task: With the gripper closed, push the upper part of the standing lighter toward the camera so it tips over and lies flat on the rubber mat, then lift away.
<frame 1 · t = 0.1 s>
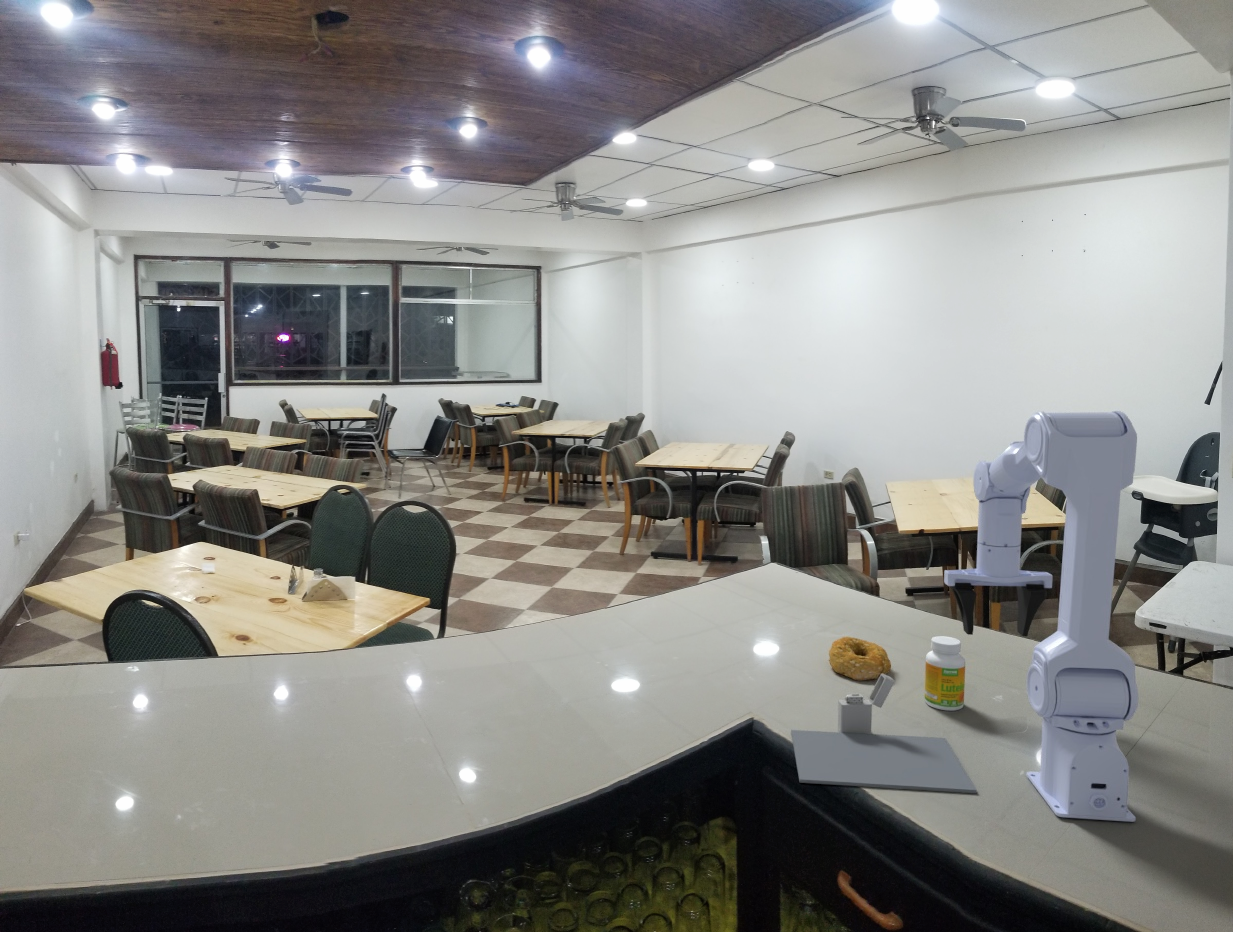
hand: (995, 633, 116), 10 cm above the bar counter, fingers open, 7 cm apart
bagel: (859, 671, 130), on the bar counter
supplement bottle: (943, 705, 116), on the bar counter
lighter: (865, 733, 107), on the bar counter
mat: (876, 760, 99), on the bar counter
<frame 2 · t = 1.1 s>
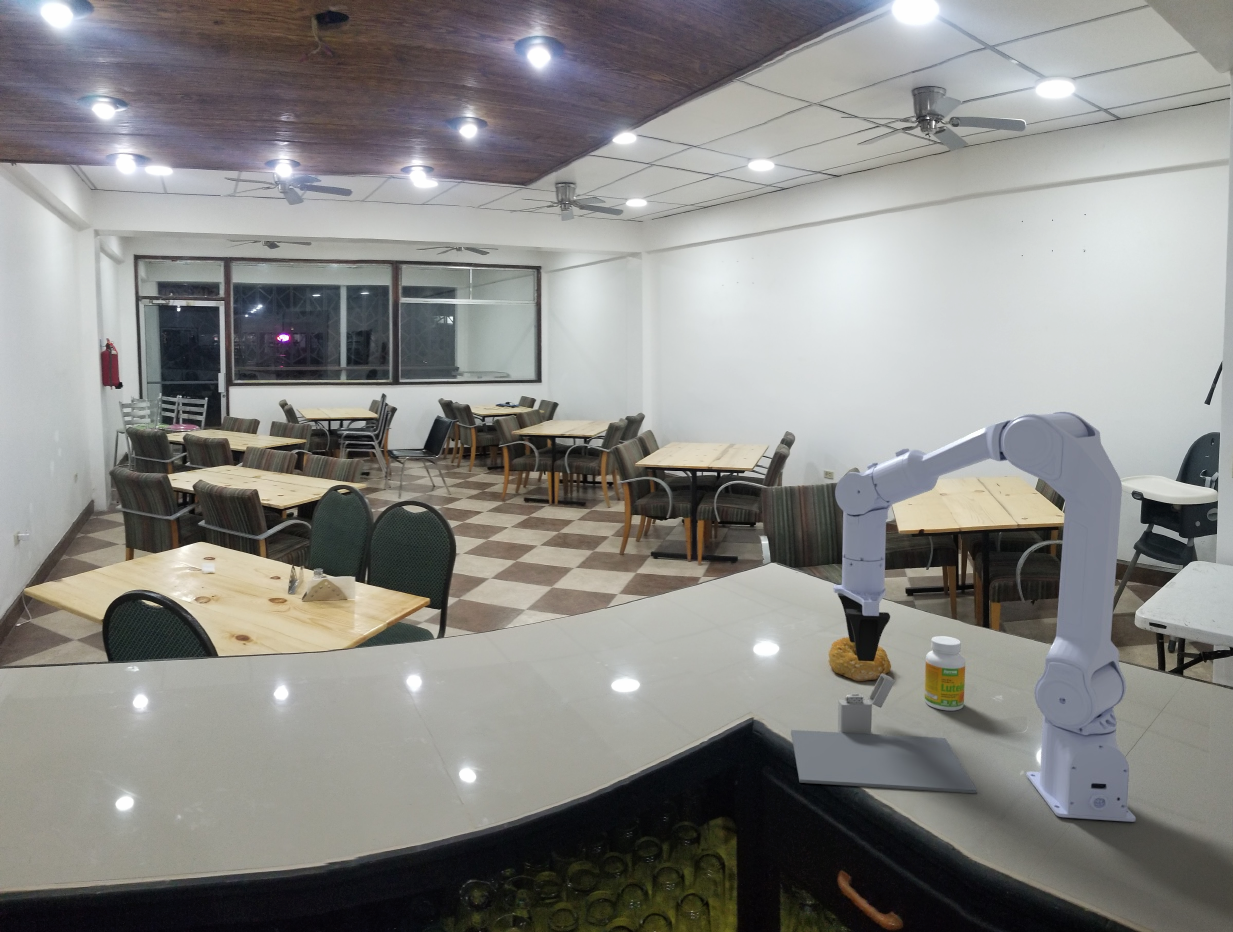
hand: (861, 650, 111), 9 cm above the bar counter, fingers open, 7 cm apart
nothing on the bar counter moved.
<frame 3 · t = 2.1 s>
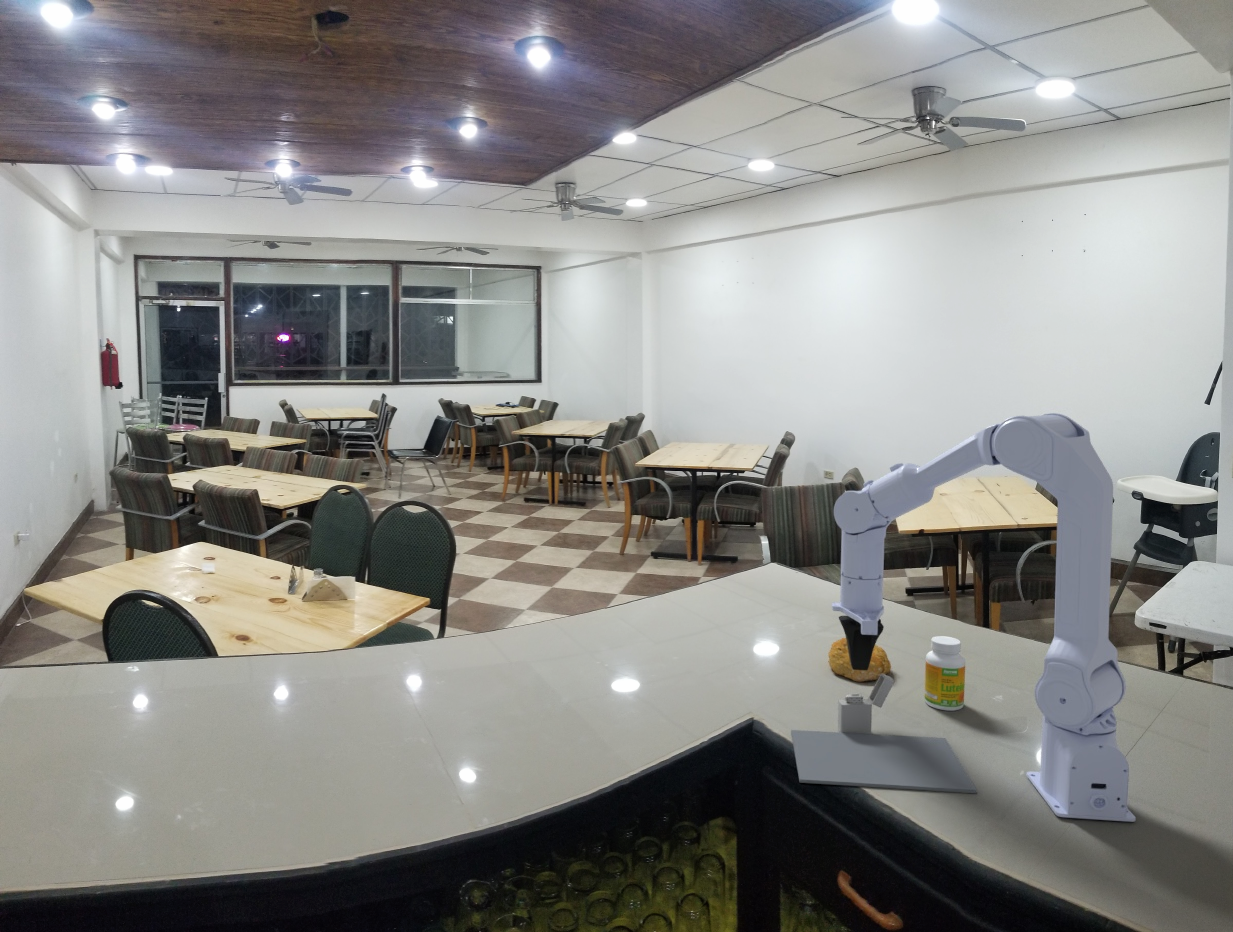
hand: (859, 668, 112), 7 cm above the bar counter, fingers closed
nothing on the bar counter moved.
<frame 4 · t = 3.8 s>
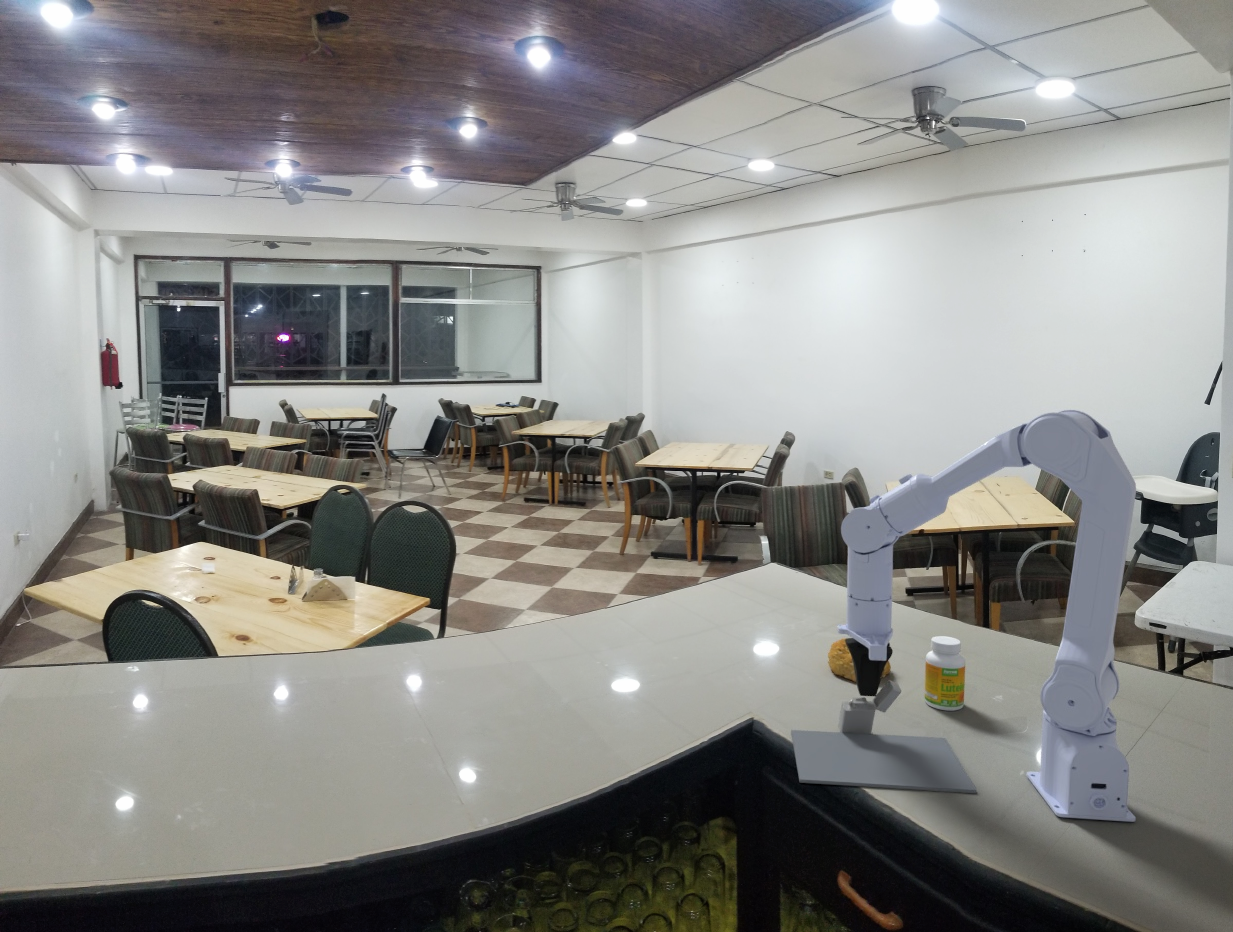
hand: (867, 694, 106), 6 cm above the bar counter, fingers closed
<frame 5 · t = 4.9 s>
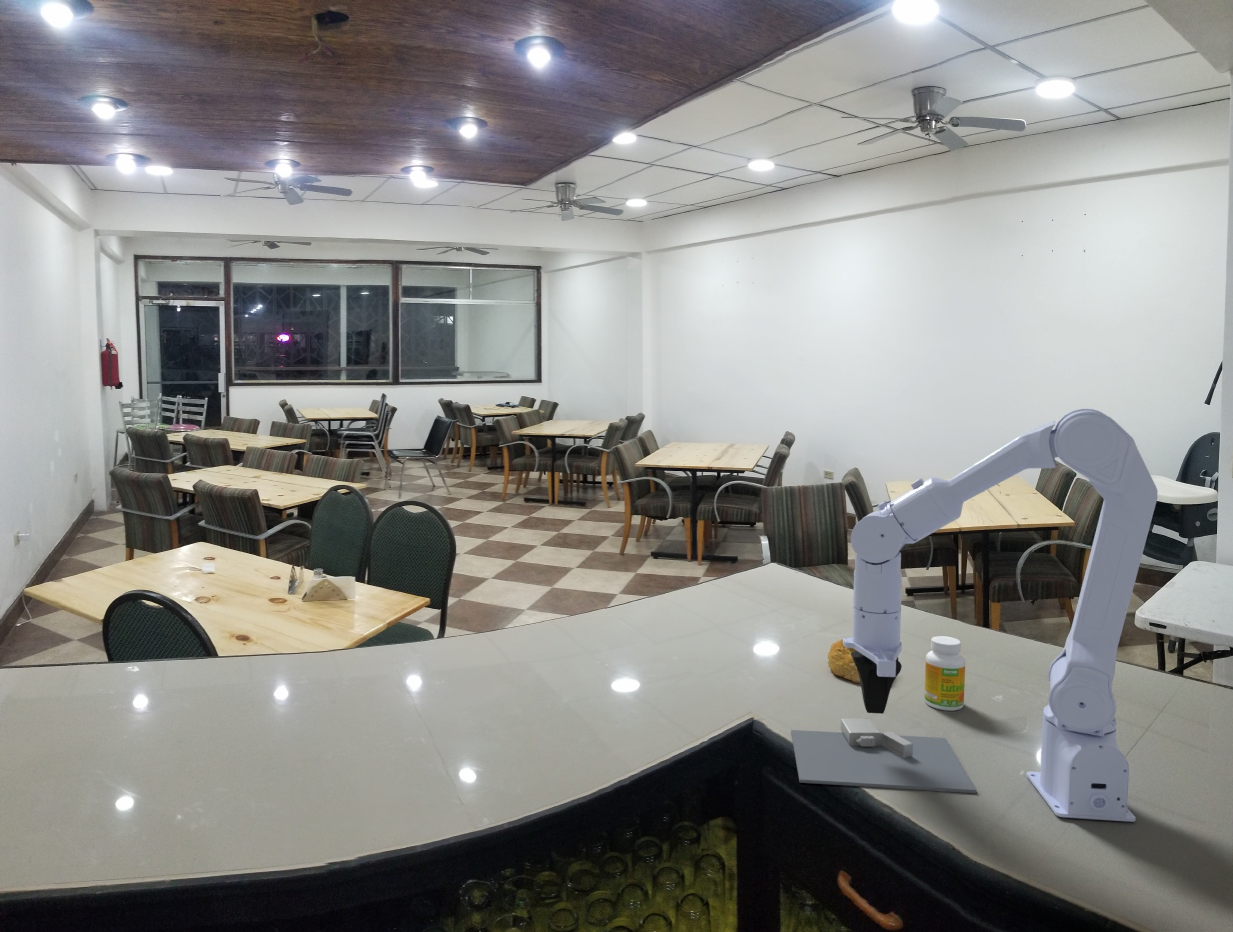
hand: (874, 711, 100), 6 cm above the bar counter, fingers closed
lighter: (866, 723, 106), point 1 cm above the bar counter, touching mat
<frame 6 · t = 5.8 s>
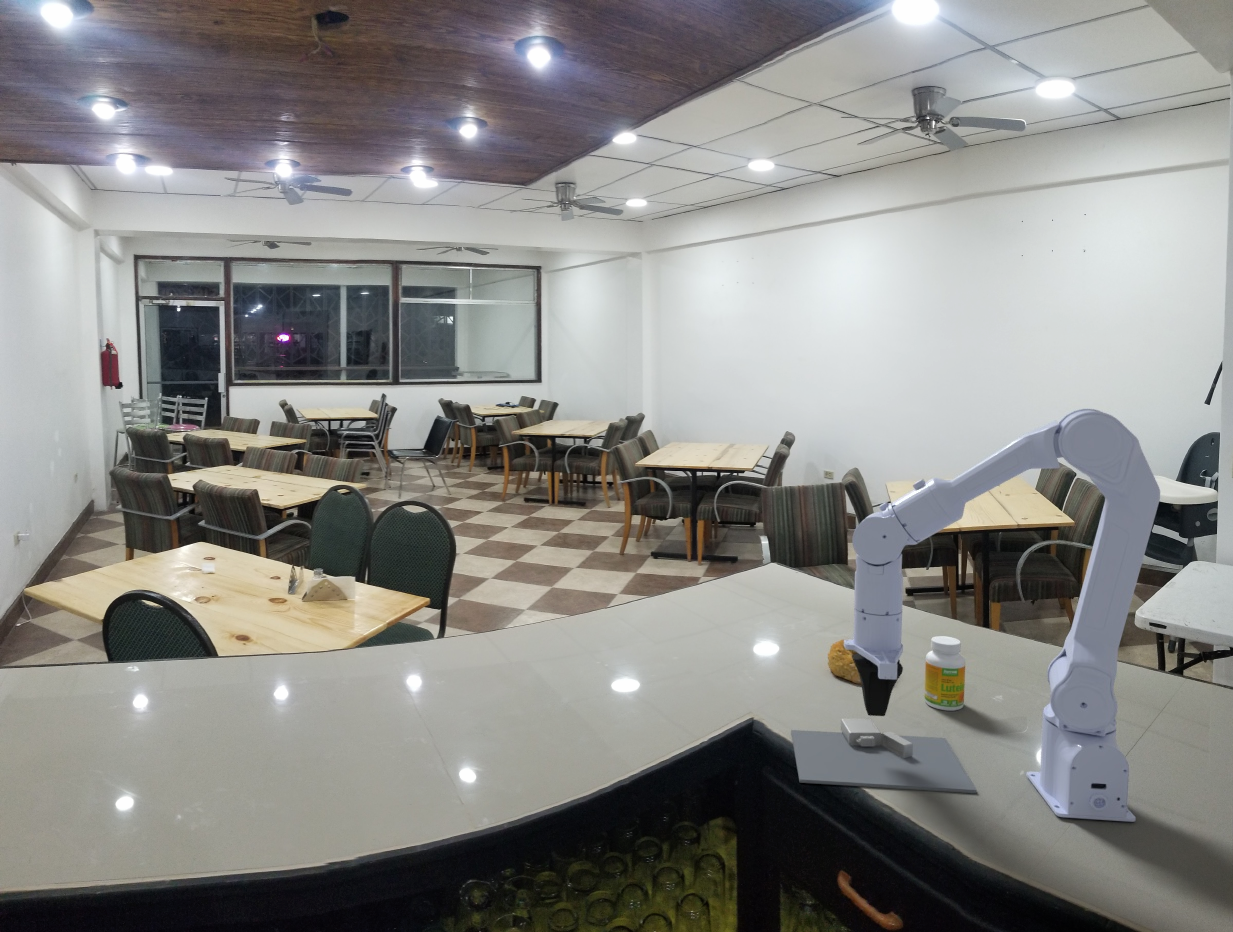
hand: (875, 713, 99), 6 cm above the bar counter, fingers closed
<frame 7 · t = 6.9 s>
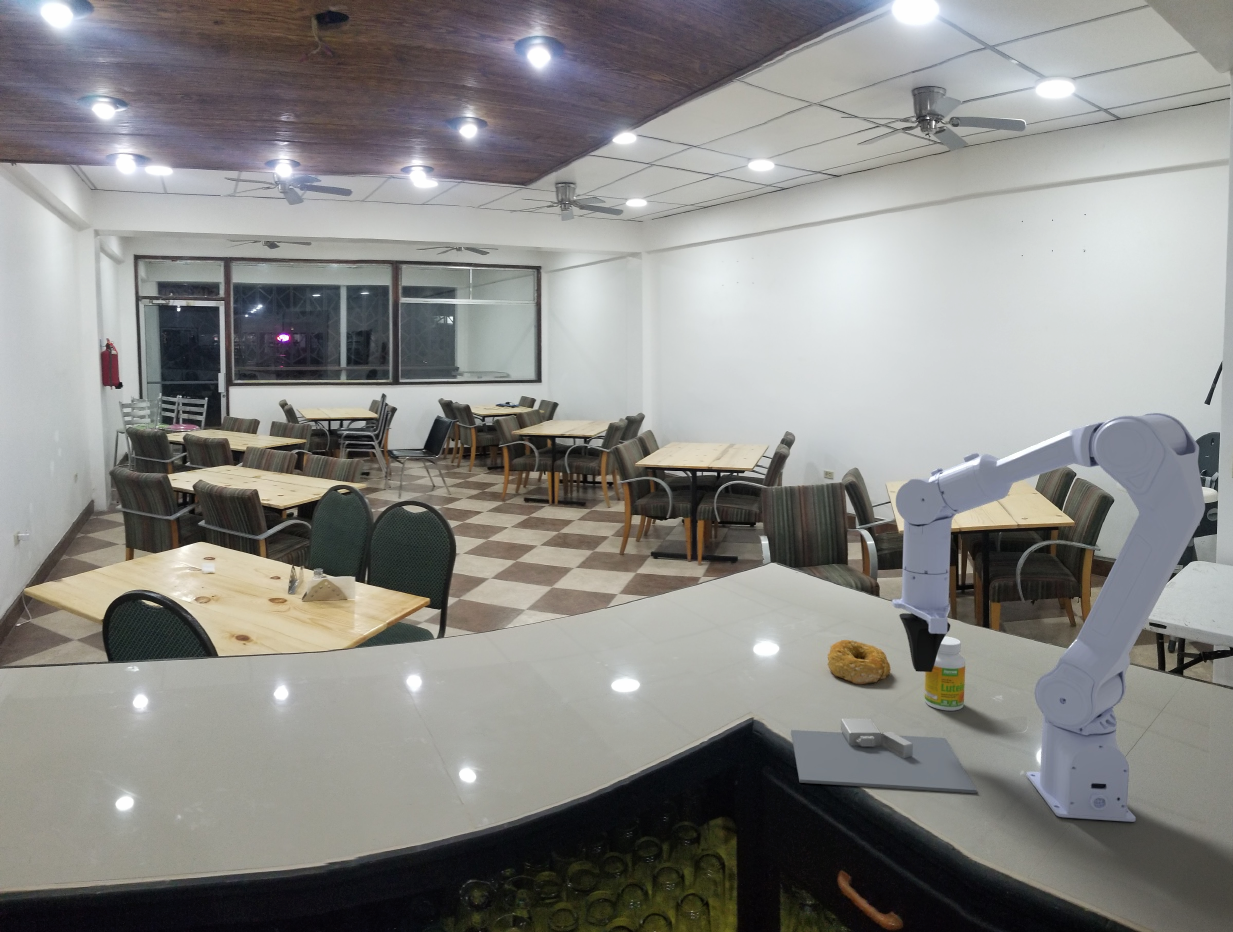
hand: (922, 669, 104), 9 cm above the bar counter, fingers closed
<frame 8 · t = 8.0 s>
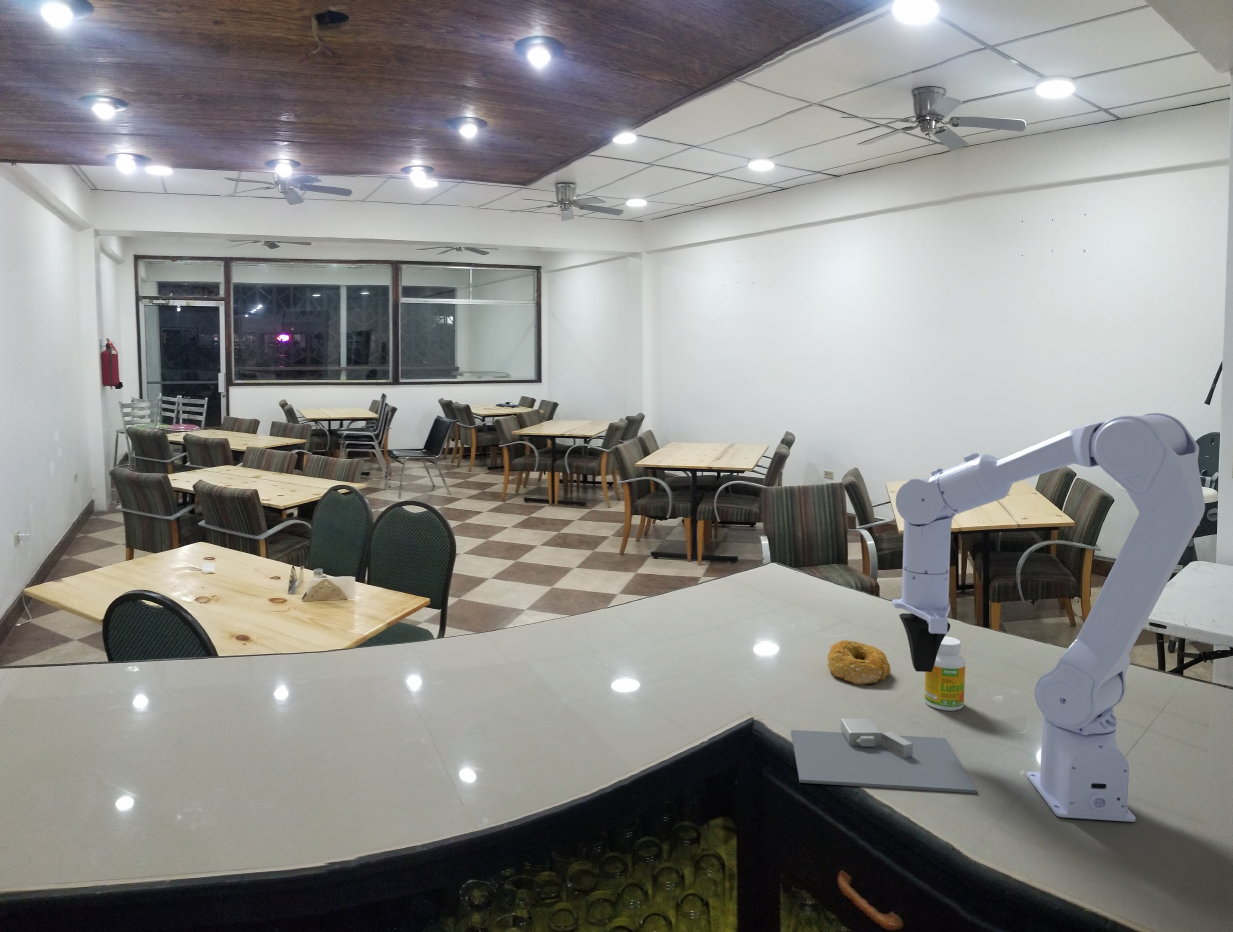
hand: (922, 669, 104), 9 cm above the bar counter, fingers closed
at the end: lighter tilted 90°; lighter touching mat; lighter inside the target area (1.1 cm from its centre), point 1.3 cm above the bar counter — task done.
